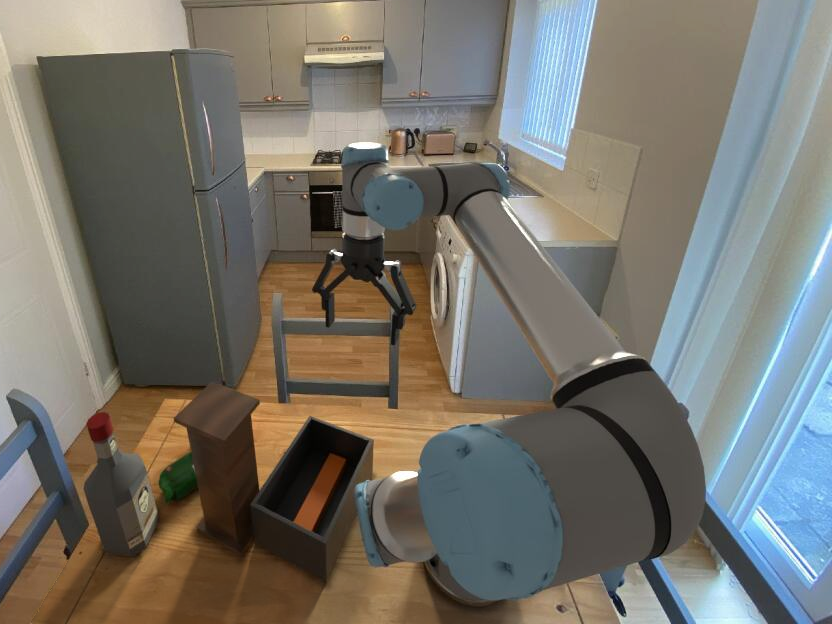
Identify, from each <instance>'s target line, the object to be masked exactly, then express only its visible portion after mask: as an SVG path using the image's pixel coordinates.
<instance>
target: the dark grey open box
mask: <svg viewBox="0 0 832 624" xmlns="http://www.w3.org/2000/svg"><path fill="white" fill-rule="evenodd" d="M374 442H375V440H374V439H373V438H370V437H368V436H365V435H362V434H360V433H357V432H355V431H352V430H349V429H347V428H343V427H341V426H339V425H335V424H333V423H330V422H328V421H325V420H323V419H320V418H318V417H315V416H312V415H309V416H308V417H307V419H306V421H305V422H304V424H303V425H302V427H301V428H300V429H299V431H298V433H297V434H296V435H295V436H294V438H293V440H292V441H291V443H290V444H289V446H288V447H287V449H286V450H285V452H284V453H283V455H282V456H281V458H279V461H278V462H277V464H276V465H275V467H274V469H273V470H272V471H271V473H270V474H269V475H268V477H267V479H266V481H265V482H264V483H263V485H262V486H261V488H259V492H258V494H257V495H256V497H255V498H254V500H253V501H252V503H251V504H250V509H251V517H252V525H253V533H254V538H253V540H254V544H256V545H258V546H259V547H261V548H263V549H265V550H267V551H268V552H270V553H272V554H274V555H275V556H277V557H279V558H281V559H283V560H285V561H287V562H288V563H290V564H292V565H293V566H295V567H297V568H299V569H301V570H303V571H304V572H306V573H307V574H309V575H311V576H313V577H315V578H316V579H319V580H320V581H322V582H324V583H328V581H329V579H330V577H331V575H332V573H333V569H334V567H335V565H336V563H337V560H338V558H339V555H340V553H341V551H342V549H343V546H344V545H345V541H346V539H347V536H348V535H349V532H350V529H351V527H352V525H353V523H354V520H355V517H356V515H357V509H356V504H355V497H354V488H355V486H356V485H357V484H360V483H363V482H365V481H366V480H370V481H372V480H371V479H372V478H373V468H374V446H375V445H374ZM330 453H332V454H334V455H337V456H339V457H342V458H344V459H346V469H345V471H344V473H343V475H342V477H341V479H340V481H339V483H338V485H337V488H336V490H335V492H334V494H333V496H332V498H331V500H330V502H329V504H328V506H327V509H326V511H325V513H324V515H323V517H322V519H321V521H320V523H319V525H318V527H317V530H316V532H315V533H313V532H311V531H309V530H307V529H306V528H304V527H302V526H300V525H298V524H296V523H294V520H295V518H296V516H297V514H298V513H299V511H300V509H301V507H302V505H303V503H304V501H305V499H306V498H307V496H308V494H309V492H310V490H311V488H312V486H313V484H314V483H315V481H316V479H317V477H318V475H319V473H320V471H321V469H322V468H323V466H324V464H325V462H326V460H327V458H328V456H329V454H330Z"/></svg>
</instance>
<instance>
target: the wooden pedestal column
mask: <svg viewBox="0 0 832 624" xmlns="http://www.w3.org/2000/svg"><path fill="white" fill-rule="evenodd" d="M260 401H261V399H259V398H256V397H255V396H252V395H248V394H246V393H243V392H241V391H238V390H235V389H233V388H231V387H228V386H225V385H223V384H220V383H217V382H214V381H210V383H208V384H207V385H206V386H205V387H204V388H203V389H202V390H201V391H200V392H199V393H198V394H197V395H196V396H195V397H194V398H193V399H192V400H191V401H190V402H189V403H188V404H187V405H186V406H184V408H182V409H181V410H180V411H179V412H178V413H177V414H176V415H175V416H174V417H173V422H174V423H175V424H177V425H180V426H182V427H184V428H186V432H187V438H188V443H189V448H190V452H191V454H192V459H193V464H194V469H195V474H196V479H197V484H198V487H197V489H198V494H199V500H200V504H201V509H202V514H203V515H202V516H203V518H202V519H201V520H200V522H199V523H198V524H197V526H196V527H195V528H196V531H197V532H198V533H199V534H201V535H203V536H205V537H206V538H208V539H210V540H211V541H213V542H215V543H216V544H218V545H220V546H222V547H224V548H225V549H227V550H229V551H230V552H232V553H234V554H235V555H237V556H239V557H241V558H243V556H244V555H245V553H246V551H247V550H248V548H249V547H250V545H251V543H252V541H253V540H254V533H253V525H252V517H251V509H250V504H251V503H252V501H253V500H254V498H255V497H256V495H257V494H258V492H259V491H260V483H259V475H258V473H259V472H258V466H257V456H256V447H255V438H254V431H253V430H254V429H253V420H252V414H253V413H254V411H255V410H256V409H257V408H258V407H259V406H260V405H261V403H260Z"/></svg>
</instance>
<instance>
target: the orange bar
mask: <svg viewBox="0 0 832 624" xmlns="http://www.w3.org/2000/svg"><path fill="white" fill-rule="evenodd" d="M345 469H346V459H344V458H342V457H339V456H337V455H334V454H332V453H330V454H329V456H328V458H327V460H326V462H325V464H324V466H323V468H322V469H321V471H320V473H319V475H318V477H317V479H316V481H315V483H314V484H313V486H312V488H311V490H310V492H309V494H308V496H307V498H306V499H305V501H304V503H303V505H302V507H301V509H300V511H299V513H298V514H297V516H296V518H295V520H294V523H296V524H298V525H300V526H302V527H304V528H306V529H307V530H309V531H311V532H313V533H315V532H316V530H317V527H318V525H319V523H320V521H321V519H322V517H323V515H324V513H325V511H326V509H327V506H328V504H329V502H330V500H331V498H332V496H333V494H334V492H335V490H336V488H337V485H338V483H339V481H340V479H341V477H342V475H343V473H344V471H345Z"/></svg>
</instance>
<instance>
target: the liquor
mask: <svg viewBox="0 0 832 624" xmlns="http://www.w3.org/2000/svg"><path fill="white" fill-rule="evenodd" d="M85 425H86V428H87V431H88V435H89V437H90V441H91V442H92V444H93V447H94V451H95V454H96V458H97V460H96V463H97V464H96V465H95V466H94V468H93V470H92V471H91V473H90V474H89V476H88V477H87V478H86V480H85V481H84V484H83V492H84V496H85V499H86V502H87V505H88V508H89V510H90V513H91V516H92V518H93V523H94V525H95V527H96V531H97V533H98V537H99V539H100V542H101V545H102V547H103V550H104V553H105V554H107V555H113V556H114V555H115V556H122V557H129V558H133V557H135V556H136V555H137V554H139V553H141V552H143V551H144V550H145V549H146V548H147V547H148V544H149V543H150V540H151V539H152V536H153V533H154V532H155V529H156V527H157V525H158V523H159V521H160V517H159V513H158V509H157V506H156V502H155V498H154V494H153V490H152V487H151V481H150V478H149V475H148V471H147V467H146V465H145V462H144V460H143V457H142V456H141V455H140V454H136V453H128V452H122V451H121V449H120V448H119V446H118V443H117V440H116V437H115V434H114V426H113V424H112V420H111V417H110V414H109V413H108V412H106V411H103V412H102V411H101V412H96V413H95V414H93V415H91V416H90V417H89V418H88V419H87V420H86V423H85Z"/></svg>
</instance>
